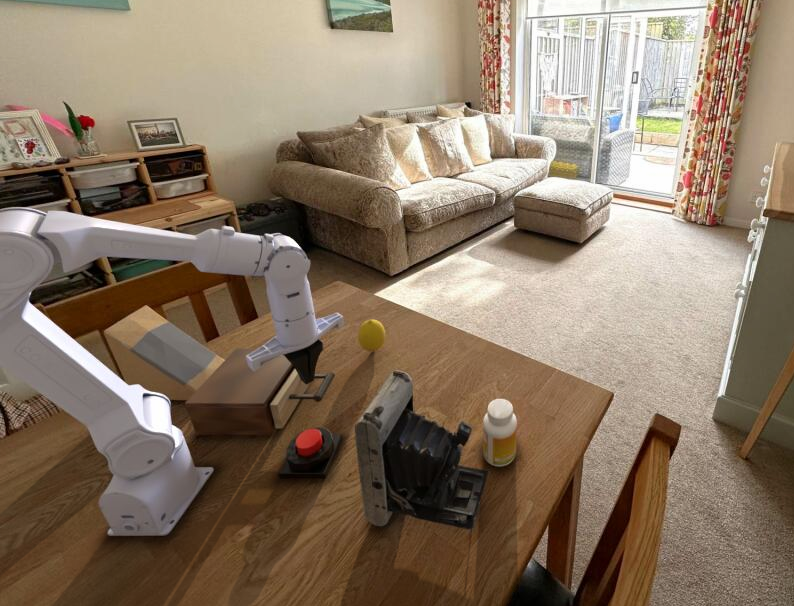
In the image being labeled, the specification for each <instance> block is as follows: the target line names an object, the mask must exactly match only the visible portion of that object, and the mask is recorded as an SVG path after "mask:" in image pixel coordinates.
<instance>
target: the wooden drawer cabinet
mask: <svg viewBox="0 0 794 606" xmlns="http://www.w3.org/2000/svg"><path fill="white" fill-rule="evenodd" d="M258 348H259V347H257V348H252V347H251V348H250V347H247V348H246V347H245V348H243V347H241V348H240V347H237V348H235V349H234V350H233V351H232V352H231V353H230V354H229V355H228V356H227V358H225V359H224V360H225V361H224V362H223V363H222V364H221V365H220V366H219V367H218V368H217V369H216V370H215V372H214V373H213V374H212V375H211V376H210V377H209V378H208V379H207V380H206V381H205V382H204V383H203V384H202V385H201V387H200V388H199V389H198V390H197V391H196V392H195V393H194V394H193V395H192V396H191V397H190V398H189V399H188V400H185V403H184V405H185V408H186V410H187V413H188V416H189V419H190V422H191V424H192V428H193V430H194V432H195V436H272V435H273V434H274V432H275V431H276V430H277V428H276V427H275V423H274V419H272V421H271V418H270V414H269V410H268V406H267V402H268V401H269V399H270V398H271V397H272V395H273V394H274V392H275V391H276V389H277V388H278V387H279V385H280V384H281V382H282V381H283V379H284V378H285V376H286V375H287V374H288V372H289V371H290V369H291V368H292V366H293V365H292V364H291V363H290V362H289V361H288V359H287V358H286V357H285V356H284V355H280V356H278V357H276V358H274V359H272V360H270V361H268V362H266V363H264V364H263V365H261V368H260V369H258V370H256V371H253V370H252V369H251V368H250V367H249V366H248V363H247V359H246V355H248V354H250V353H252V352H254V351H255V350H257V349H258Z"/></svg>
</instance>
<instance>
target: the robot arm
mask: <svg viewBox="0 0 794 606" xmlns="http://www.w3.org/2000/svg"><path fill="white" fill-rule="evenodd" d="M299 245H300V244H298V243H297V242H296V241H295V240H294V239H293V238H291V237H290V236H287V235H284V234H282V233H280V232H276V233H271V234H270V233H264V234H263V235H257V234H251V233H243V232H238V231H237V232H236V230H235V228H234V227H233V226H227V225H222V226H221V229H217V228H208V229H206V230H204V231H202V232H200V233H197V234H189V233H188V234H187V233H183V232H177V231H172V230H166V229H160V228H153V227H148V226H142V225H138V224H132V223H125V222H120V221H114V220H108V219H103V218H97V217H91V216H88V215H83V214H78V213H73V212H69V211H64V210H48V211H47V212H44V211H42V210H38V209H35V208H31V207H24V206H23V207H22V206H11V207H5V208H0V367H2V368H3V369H5V370H6V371H7V372H9V373H10V374H12V375H13V376H14V377H16V378H17V379H19V380H20V381H22V382H23V383H24V384H26V385H27V386H28V387H30V388H31V389H33V390H34V391H36V392H37V393H39V394H40V395H41V396H43V397H45V399H47V400H49V401H50V402H51V403H53V404H54V405H55V406H57V407H59V408H60V409H61V410H63V411H64V412H65V413H67V414H68V415H70V416H72V418H74V419H76V420H77V422H80V423H81V424H83V425H84V426H85V427H86V428H87V430H88V432H89V434H90V437H91V439H92V442H93V444H94V446H95V448H96V450H97V452H98V453H100V454H102V455H103V456H104V457H105V458H106V460H107V466H108V470H109V471H110V473H111V474H113V475H112V477H111V480H110V482H109V484H108V485H107V487H106V489H105V490H104V491H103V493H102V494H101V495H100V497H99V499H98V507H99V509H100V511H101V513H102V514H103V516H104V518H105V520H106V523H107V524H108V526H109V529H108V531H107V535H108V536H110V537H121V536H122V537H132V536H133V537H135V536H136V537H137V536H138V537H141V536H142V537H144V536H145V537H146V536H148V537H149V536H150V537H151V536H152V537H153V536H157V537H159V536H162V537H163V536H168V535H169V534H170V533H171V532H172V530H173V529H174V528H175V526H176V525H177V524H178V522H179V520H180V519H181V518H182V516H183V515H184V514H185V512H186V511H187V509H188V508H189V507H190V505H191V504H192V502H194V500H195V498H196V497H197V496H198V494H199V492H200V491H201V490H202V488H203V487H204V486H205V484H206V483H207V481H208V480H209V479H210V477H211V476H212V474H213V473H214V471H215V468H214V467H213V466H200V467H199V466H195V464H194V460H193V457H192V455H191V452H190V449H189V447H188V445H187V442H186V439H185V436H184V435H183V431H182V430H181V429H180V428H178V427H177V426H175V425H173V423H172V416H171V409H172V403H171V400H169V399H168V398H167V397H166V396H165V395H163V394H160V393H156V392H150V391H148V390H145V389H144V388H143V387H142V386H140V385H139V384H136V385H130V386H129V385H127V384H126V382H125V380H124V379H121V377H119V376H118V375H117V374H116V373H114V372H113V371H112V370H111V369H110V368H108V367H107V366H106V365H105V364H103V363H102V362H101V361H100V360H99V359H98V358H97V357H95V356H94V355H93V354H92V353H90V351H88V350H87V349H86V348H85V347H83V346H82V345H81V344H80V343H79V342H77V341H76V340H75V339H74V338H72V337H71V336H70V335H69V334H68V333H66V332H65V330H63V329H62V328H61V327H60V326H58V325H57V324H56V323H54V322H53V321H52V320H51V319H50V318H49V317H47V316H46V315H45V314H44V313H43V312H42V311H40V310H39V309H37V308H36V306H34V305H33V304H32V303H31V302H30V297H31V294H32V292H33V291H34V290H35V289H36V288H37V287H39V285H40V284H42V283H43V282H44V281H45V280H46V279H47V277H48V276H49V275H50V274H51V272H52V271H53V268H54V266H55V265H57V264H61V266H62V273H65V274H66V273H69V272H72V271H74V270H77V269H78V268H80V267H83V266H85V265H88V264H89V263H91V262H94V261H96V260H98V259H100V258H105V257H107V258H108V257H109V258H124V259H125V258H126V259H142V260H158V261H159V260H161V261H177V262H190V263H192V264H193V266H194V267H195V268H196V269H197V270H198V271H199V272H201V273H210V274H211V273H212V274H224V275H235V276H246V277H261V276H262V277H263V276H264V281H265V285H266V289H265V290H266V296H267V300H268V305H269V310H270V313H271V318H272V322H273V325H274V330H275V336H273V337H272V338H271V339H269V340H268V341H266V342H265V343H264V344H263V345H261V346H260V347H257V348H258V349H257V350H255V351H254V352H252V353H250V354H248V355H246V359H247V363H248V366H249V367H250V368H251V369H252V370H253V371H256V370H258V369H260V368H261V365H263V364H264V363H266V362H268V361H270V360H272V359H274V358H276V357H278V356H280V355H284V356H285V357H286V358H287V359H288V361H289V362H290V363H291V364H292V365H293V367H294V368H295V369H296V371H297V373H298V375H299V377H300V379H301V380H302V381H303V382H304V383H305V384H309V383H310V384H311V383H312V382H314V381H315V378H314V376H315V374H316V368H317V364H318V361H319V358H320V356H321V353H322V352H323V350H324V342H323V341H321V339H320V338H322V337H323V336H325V334H327V333H328V332H330V331H332V330H334V329H336V328H337V329H341V328H343V327H345V319H344V316H343V315H342V314H340V313H339V312H335V313H333V314H330V315H327V316H323V317H319V318H316V314H315V308H314V303H313V298H312V292H311V287H310V282H309V280H308V273H309V271H310V268H311V259H309V258H308V255H307V253H306V252H305V251H304V250H303V249H302V247H301V246H299ZM310 384H309V385H310Z"/></svg>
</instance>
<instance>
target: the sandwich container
mask: <svg viewBox="0 0 794 606" xmlns="http://www.w3.org/2000/svg"><path fill="white" fill-rule="evenodd" d="M103 335H104V337H105V339H106V342H107V344H108V346H109V349H110V352H111V354H112V355H113V357H114V359H115V361H116V365H117V367H118V369H119V371H120V372H121V376H122V378H123V381H124V382H125V383H126V384H127V385H129V386H130V385H136V384H139V385H140V386H142V387H143V388H144V389H145V390H148V391H150V392H156V393H160V394H163V395H165V396H166V397H167V398H168V399H169V400H170V401H187V400H188V399H189V398H190V397H191V396H192V395H193V394H194V393H195V392H196V391H197V390H198V389H199V388H200V387H201V385H202V384H203V383H204V382H205V381H206V380H207V379H208V378H209V377H210V376H211V375H212V374H213V373H214V372H215V370H216V369H217V368H218V367H219V366H220V365H221V364H222V363H223V362H224V361H225V360H226V359H224V358H222V357H220V356H219V355H217V354H216V353H215V352H213V351H212V350H210V348H209V349H208V348H207V347H205V346H204V345H203V344H202V343H200V342H198V341H197V340H196V339H194V338H193V337H192V336H190V335H188V334H187V333H185V332H184V331H183V330H181V329H180V328H178V327H177V326H175V325H174V324H173V323H171V322H170V321H169V320H167V319H166V318H164V316H161V315H160V314H159V313H157V312H156V311H155V310H154V309H152V308H151V307H149V305H144V306H142V307H141V308H139V309H137V310H135V311H134V312H132V313H130V314H129V315H127V316H125V317H124V318H122V319H121V320H119V321H117V322H116V323H114V324H113V325H111V326H110V327H108V328H106V329H104V330H103Z"/></svg>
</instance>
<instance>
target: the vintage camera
mask: <svg viewBox="0 0 794 606" xmlns="http://www.w3.org/2000/svg"><path fill="white" fill-rule="evenodd" d="M472 430H473V427H472V426H471V425H469V424H468V423H466V422H464V421H461V422H460V423H459V424H458V426H457V431H456V432H455V431H454V432H451V431H450V430H449V429H446V428H445V427H444V426H440V424H438V422H437V421H436V420H429V419H427V418H426V415H424V414H423V415H421V414H420V413H416V412H415V411H414V382H413V379H412V377H411V376H410V375H409V374H408V373H407V372H405V371H401V370H397V369H394V370H393V371H392V372H390V373H389V375H388V377H387V378H386V379H385V381H384V382H383V383H382V385H381V386H380V388H379V389H378V391H377V392H376V394H375V395H374V396H373V398H372V399H371V401H370V402H369V404H368V405H367V407H366V408H365V410H364V411H363V413H362V414H361V415H360V417H359V418H358V420H357V422H356V424H355V425H354V437H355V448H356V458H357V464H358V465H357V466H358V473H359V475H358V476H359V482H360V483H359V484H360V491H361V499H362V506H363V507H362V508H363V514H364V517H365V518H366V520H367V521H368V522H369V523H371V524H372V525H374V526H375V527H376V526H377V527H384V526H386V525H387V524H388V523H389V520H390V519H391V516H392V515H393V513H395V514H399V515H403V516H410V517H413V518H415V519H419V520H422V521H427V522H430V523H431V522H432V523H435V524H436V523H437V524H441V525H445V526H450V527H455V528H460V529H464V530H468V531H473V530H474V526H475V522H476V519H477V515H478V512H479V508H480V504H481V501H482V497H483V494H484V490H485V486H486V483H487V480H488V475H489V470H486V469H485V470H484V469H481V468H480V469H479V468H474V467H470V466H469V467H468V466H465V465H460V461H461V456H462V455H461V454H462V452H463V447H465V446H466V444H467V443H468V442H469V439H470V436H471V434H472Z"/></svg>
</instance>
